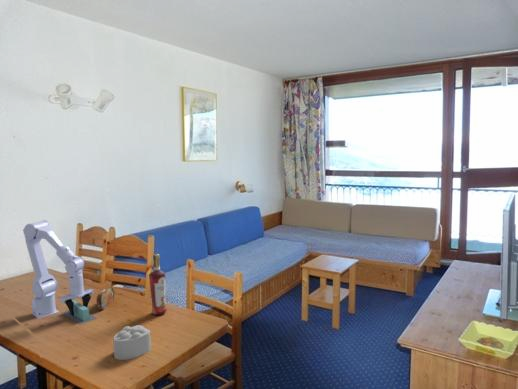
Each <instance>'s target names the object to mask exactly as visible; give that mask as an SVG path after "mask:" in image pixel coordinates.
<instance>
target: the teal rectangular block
mask: <svg viewBox="0 0 518 389" xmlns="http://www.w3.org/2000/svg"><path fill="white" fill-rule="evenodd" d="M72 301H73V302H74V315H75V316H76V317H78V318H80V319H81V320H83V321H86V320H89V319H90V318H89V314H90V308H88V307H85V306H83V304H81V303H80V302H78V301H75V299H72ZM69 312H70V311H69Z"/></svg>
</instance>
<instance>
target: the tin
mask: <svg viewBox="0 0 518 389" xmlns="http://www.w3.org/2000/svg"><path fill="white" fill-rule="evenodd" d="M114 299H115V293H114V289H113V287H112V286H109V287H105V288H103V290H101V291H100V292H99V293H98V294H97V296H96V305H97V306H96V307H97V309H98V310H103V311H104V310H105V309H106V308H107V307H108V306H109V305H110V304H111V303H113V302H114Z"/></svg>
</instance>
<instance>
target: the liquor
mask: <svg viewBox="0 0 518 389" xmlns="http://www.w3.org/2000/svg"><path fill="white" fill-rule="evenodd" d="M152 255H153V256H152V257H153V271H152V272H150V273H149V274H148V277H149V278H148V279H149V287H150V294H151V296H150V297H151V306H152V308H151V309H152V310H151V313H152V314H153V315H155V316H161V315H160V314H162V315H163V313H165V312H167V307H166V272H165V271H163V270H161V266H160V265H161V264H160V254H159V253H155V254H152Z"/></svg>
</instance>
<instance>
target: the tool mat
mask: <svg viewBox="0 0 518 389" xmlns="http://www.w3.org/2000/svg"><path fill="white" fill-rule="evenodd" d="M61 314H62V315H64V316H66V317H68V318H69V319H70V320H71V321H73V322H75V323H76V324H78V325H83V324H86V323H89V322H91V321H94V320H97V319H98V318H97V317H96V316H94V315H92V314H91V313H89V318H90V319H89V320H86V321H83V320H81V319H80V318H78V317H76V316H75V315H73V316H72V315H71V314H70V312H69V309H68V310H65V311H63V312H61Z"/></svg>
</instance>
